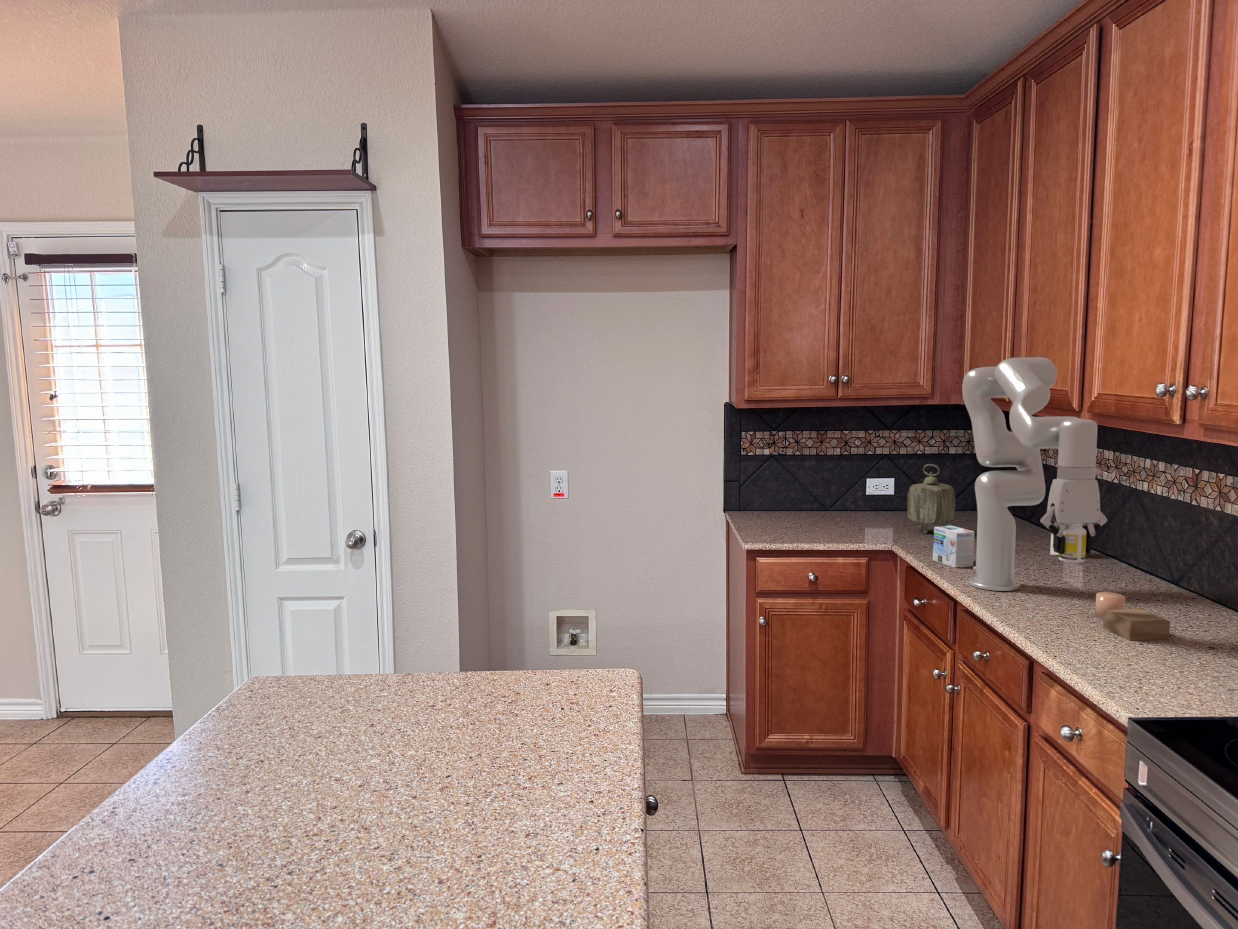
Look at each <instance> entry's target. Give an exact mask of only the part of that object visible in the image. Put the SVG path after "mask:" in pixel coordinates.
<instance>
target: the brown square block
mask: <svg viewBox="0 0 1238 929" xmlns="http://www.w3.org/2000/svg"><path fill="white" fill-rule="evenodd" d="M1102 619H1103V620H1102V628H1103V629H1105V630H1107V631H1109V632H1111V633H1113V634H1115V635H1118V636H1119V637H1121V638H1123V639H1126V640H1128V641H1147V640H1149V641H1151V640H1169V639H1170V627H1171V621H1170V620H1168V619H1166V618H1163V617H1162V616H1159V615H1156V614H1154V613H1151V612H1149V611H1147V610H1144V609H1141V608H1131V609H1127V608H1125V609H1124V610H1107V611H1104V615H1103V618H1102Z"/></svg>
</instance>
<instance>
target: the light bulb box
mask: <svg viewBox="0 0 1238 929" xmlns="http://www.w3.org/2000/svg"><path fill="white" fill-rule="evenodd" d="M975 533H976V532H975V531H974V530H969V529H966V528H963V527H959V526H954V525H944V526H940V525H939V526H934V527H933V547H932V548H933V551H932V561H934V562H937V563H940V564H943V565H945V566H949V567H952V568H954V567H960V568H969V566H970V567H974V555H975V554H974V552H975Z"/></svg>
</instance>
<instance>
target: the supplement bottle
mask: <svg viewBox="0 0 1238 929" xmlns="http://www.w3.org/2000/svg"><path fill="white" fill-rule="evenodd" d="M1082 525H1083V524H1082V523H1075V524H1067V525H1066V528H1065V531H1064V533H1063V537H1065V553H1064V554H1059V556H1058V560H1060V561H1062V562H1066V563H1075V564H1076V563H1079V564H1080V563H1083V562H1085V561H1086V555H1087V553H1086V530H1085V529H1084V528H1082Z"/></svg>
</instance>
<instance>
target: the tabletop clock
mask: <svg viewBox="0 0 1238 929" xmlns="http://www.w3.org/2000/svg"><path fill="white" fill-rule="evenodd" d="M926 467H934V468H937V471H938V472H937V473H934V472H933V471H930V472H929V473H928V472H927V471H925V468H926ZM922 472H923V474H925V475H926V477H925V478H924V480H923V483H916V484H912V485H911V486H909V488H908V493H907V501H906V504H907V506H906V509H907V510H906V511H907V512H906V513H907V518H908V519H910V520H911V521H912V522H914V523H917V524H920V525H919V527H918V528H919V530H922V532H923V534H926V535H927V534H929V531H928V526H939V527H940V526H945V524H949V523H953V520H954V517H955V513H956V512H955V511H956V495H955V494H956V493H955V490H954V487H952V486H951V485H950V484H945V483H940V482H939V480H938V478H937V477H936V476H938V475H939V474H940V472H941V471H940V468H939V466H938V465H936V464H933V463H927V464H925V465H924V466H923V468H922Z"/></svg>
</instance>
